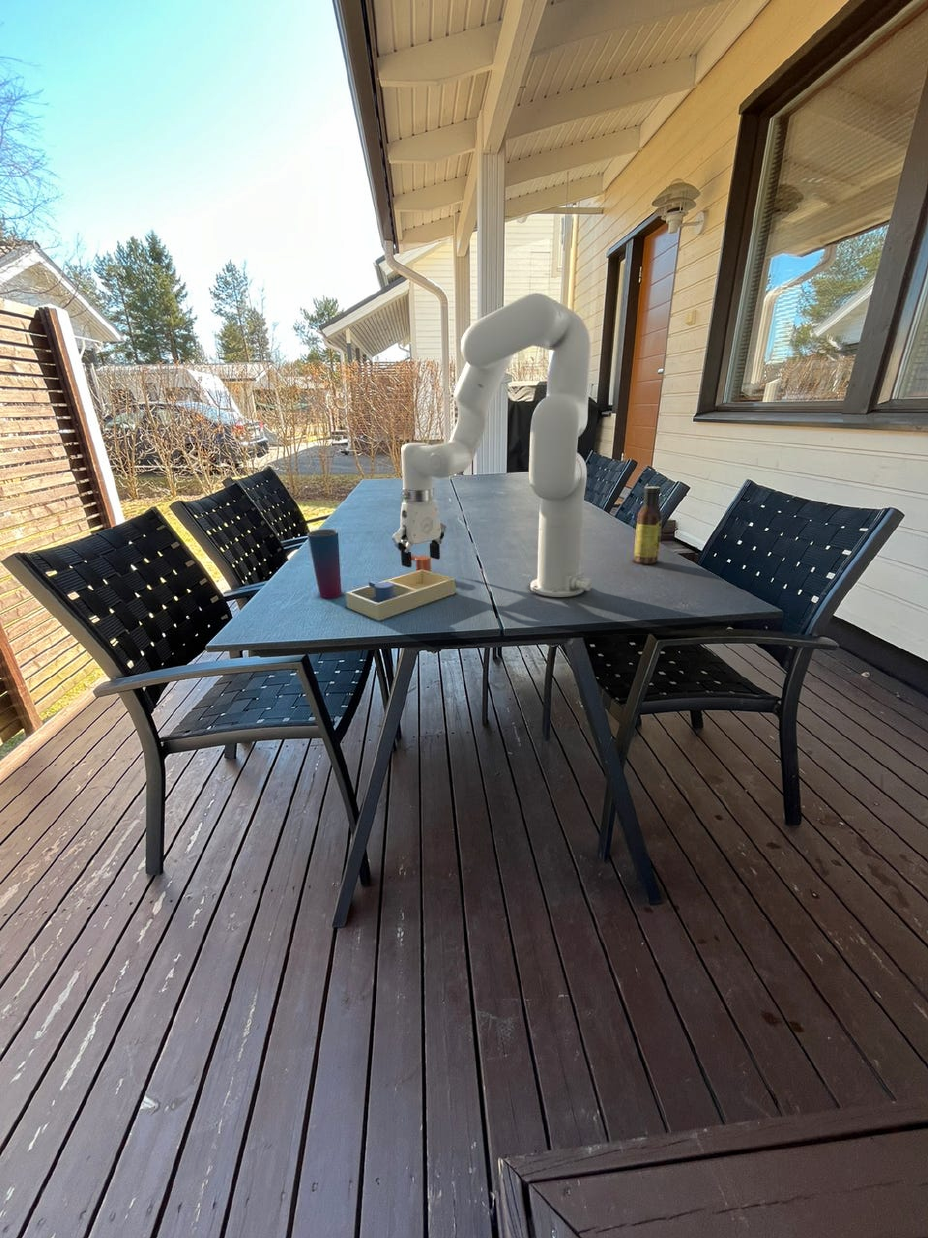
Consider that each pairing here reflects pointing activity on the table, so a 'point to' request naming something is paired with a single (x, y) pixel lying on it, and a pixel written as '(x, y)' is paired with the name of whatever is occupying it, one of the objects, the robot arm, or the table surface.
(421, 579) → the sorter
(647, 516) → the sauce bottle
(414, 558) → the orange scoop
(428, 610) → the table surface
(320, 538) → the cup
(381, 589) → the blue scoop
